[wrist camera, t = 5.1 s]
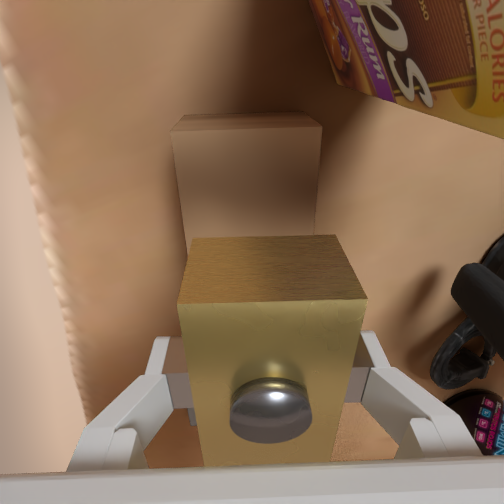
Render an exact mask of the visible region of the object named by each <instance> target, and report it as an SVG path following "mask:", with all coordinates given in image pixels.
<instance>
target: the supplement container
mask: <svg viewBox="0 0 504 504" xmlns="http://www.w3.org/2000/svg"><path fill="white" fill-rule="evenodd" d="M444 404H445V405H446V406H447V407H449V408H450V409H451V410H453V411H454V412H455V413H457V414H458V415H459V416H460V417H461V419H462V421H463V422H464V424H465V426H466V427H467V429H468V431H469V433H470V434H471V436H472V438H473V439H474V441H475V443H476V444H477V446H478V448H479V449H480V451H481V453H482V454H483V456H488V455H504V400H503V399H502V398H501V397H500V396H499V395H497V394H496V393H494V392H491V391H488V390H484V389H474V390H468V391H465V392H462V393H459V394H457V395H455V396H453V397H451V398H450V399H449V400H447V401H446V402H445V403H444Z"/></svg>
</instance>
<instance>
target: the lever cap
mask: <svg viewBox="0 0 504 504" xmlns="http://www.w3.org/2000/svg"><path fill="white" fill-rule="evenodd" d="M367 301H368V298H367V296H366V294H365V292H364V290H363V288H362V286H361V284H360V282H359V280H358V278H357V276H356V275H355V273H354V271H353V269H352V267H351V265H350V263H349V261H348V259H347V257H346V255H345V253H344V251H343V249H342V247H341V245H340V243H339V241H338V239H337V237H336V235H296V236H252V237H207V238H193V239H192V243H191V247H190V251H189V255H188V259H187V263H186V267H185V272H184V276H183V280H182V284H181V288H180V292H179V296H178V300H177V310H178V316H179V322H180V328H181V333H182V339H183V345H184V351H185V357H186V363H187V369H188V375H189V381H190V387H191V393H192V398H193V404H194V410H195V416H196V422H197V428H198V434H199V440H200V446H201V452H202V457H203V463H204V467H207V466H232V465H257V464H283V463H308V462H330V459H331V455H332V451H333V446H334V442H335V438H336V434H337V429H338V425H339V421H340V416H341V412H342V408H343V404H344V399H345V395H346V391H347V387H348V382H349V378H350V374H351V370H352V365H353V361H354V357H355V352H356V348H357V344H358V340H359V335H360V331H361V327H362V323H363V318H364V314H365V310H366V305H367Z"/></svg>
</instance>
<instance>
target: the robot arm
mask: <svg viewBox="0 0 504 504" xmlns="http://www.w3.org/2000/svg"><path fill="white" fill-rule="evenodd" d="M344 402H361V404H362V405H363V406H364V408H365V409H366V410H367V411H368V412H369V413H370V414H371V415H372V416H373V417H374V419H375V420H376V421H377V422H378V423H379V424H380V425H381V426H382V427H383V428H384V429H385V431H386V432H387V433H388V434H389V435H390V436H391V437H392V438H393V439H394V440H395V442H396V443H397V444H398V445H399V448H398V450H397V452H396V455H395V457H394V459H385V460H359V461H334V462H308V463H283V464H257V465H232V466H207V467H181V468H155V469H149V466H148V464H147V461H146V458H145V455H144V452H143V451H144V450H145V449H146V447H147V446H148V444H149V443H150V442H151V440H152V439H153V438H154V436H155V435H156V434H157V432H158V431H159V429H160V428H161V427H162V425H163V424H164V423H165V421H166V420H167V419H168V417H169V416H170V414H171V413H172V412H173V409H178V408H194V404H193V398H192V393H191V387H190V381H189V375H188V369H187V363H186V357H185V351H184V345H183V339H182V336H157V337H156V339H155V340H154V343H153V347H152V350H151V354H150V357H149V361H148V364H147V368H146V371H145V374H144V375H140V376H139V377H138V378H137V379H135V380H134V381H133V382H132V383H131V384H130V385H129V386H128V387H127V388H126V389H125V390H124V391H123V392H122V393H121V394H120V395H119V396H118V397H117V398H115V399H114V400H113V401H112V402H111V403H110V404H109V405H108V406H107V407H106V408H105V409H104V410H103V411H102V412H101V413H100V414H99V415H98V416H96V417H95V418H94V419H93V420H92V421H91V422H90V423H89V424H88V425H87V426H86V427H85V428H84V430H83V432H82V434H81V437H80V439H79V441H78V444H77V446H76V449H75V451H74V454H73V456H72V459H71V461H70V463H69V466H68V468H67V471H66V472H50V473H24V474H0V504H504V455H488V456H483V454H482V453H481V451H480V449H479V448H478V446H477V444H476V443H475V441H474V439H473V438H472V436H471V434H470V433H469V431H468V429H467V427H466V426H465V424H464V422H463V421H462V419H461V417H460V416H459V415H458V414H457V413H455V412H454V411H453V410H451V409H450V408H449V407H447V406H446V405H445V404H443V403H442V402H441V401H439V400H438V399H437V398H436V397H434V396H433V395H432V394H430V393H429V392H428V391H426V390H425V389H424V388H422V387H421V386H420V385H418V384H417V383H416V382H414V381H413V380H412V379H410V378H409V377H408V376H407V375H405V374H404V373H403V372H401V371H400V370H399V369H397V368H396V367H391V366H390V364H389V361H388V359H387V357H386V355H385V353H384V351H383V349H382V347H381V345H380V343H379V341H378V339H377V337H376V334H375V332H374V331H372V330H366V331H360V335H359V340H358V344H357V348H356V352H355V357H354V361H353V365H352V370H351V374H350V378H349V382H348V387H347V391H346V395H345V399H344Z"/></svg>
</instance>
